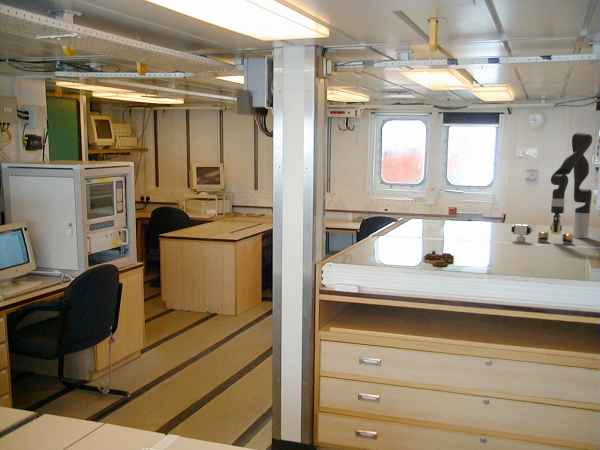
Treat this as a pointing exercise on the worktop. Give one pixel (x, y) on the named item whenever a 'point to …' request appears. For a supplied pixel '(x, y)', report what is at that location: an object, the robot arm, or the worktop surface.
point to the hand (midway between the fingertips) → (555, 231)
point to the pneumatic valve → (521, 231)
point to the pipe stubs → (566, 238)
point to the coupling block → (557, 230)
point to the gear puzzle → (439, 259)
